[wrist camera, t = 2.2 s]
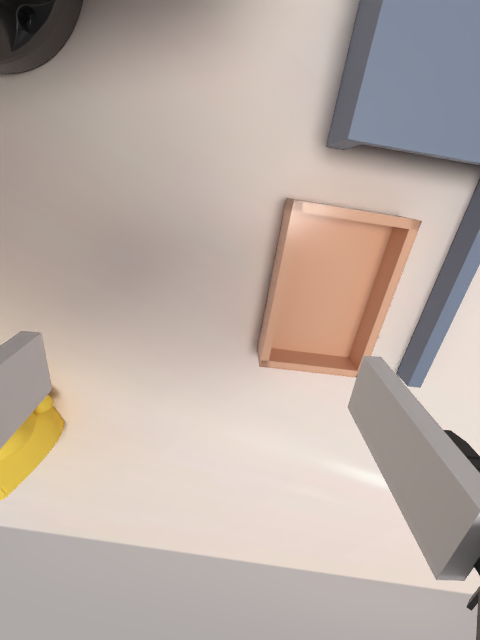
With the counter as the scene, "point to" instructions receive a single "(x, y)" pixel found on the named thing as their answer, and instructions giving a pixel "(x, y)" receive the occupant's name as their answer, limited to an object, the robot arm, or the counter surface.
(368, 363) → the robot arm
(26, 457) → the teapot
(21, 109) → the counter surface
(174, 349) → the counter surface
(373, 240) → the dish
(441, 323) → the blue-grey box with strip
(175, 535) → the counter surface
